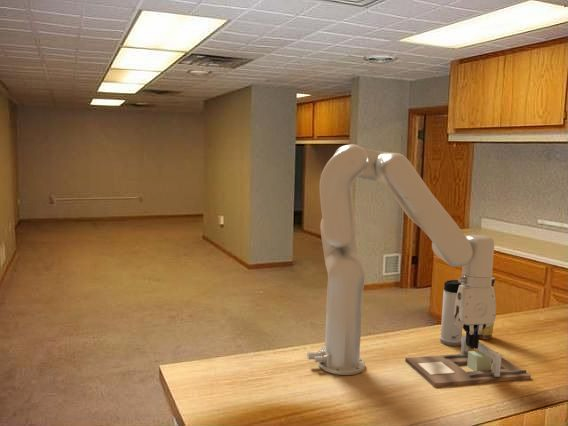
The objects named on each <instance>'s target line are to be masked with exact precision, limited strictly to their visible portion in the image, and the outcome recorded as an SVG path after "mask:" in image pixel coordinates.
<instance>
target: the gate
mask: <svg viewBox="0 0 568 426" xmlns="http://www.w3.org/2000/svg"><path fill="white" fill-rule="evenodd" d="M469 348H470V347H468V346H467V345H466V333H465V334H463V333H462V339H461V346H460V354H462V355H463V354H468V351H469ZM477 351H481V352H482V353H484V354H486V355H487V356H489V357H490V358H492V359H493V362H492V364H491V370H492V376H494V377H499V376H500V368H501V357H502V356H503V355H501V354H500V353H499V352H498V353H497V351H496V350H494V349H492V348H491V347H488V346H487V345H486V344H484V343H482V342H480V341H479V344H478V349H477Z"/></svg>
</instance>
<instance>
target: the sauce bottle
mask: <svg viewBox="0 0 568 426" xmlns="http://www.w3.org/2000/svg"><path fill="white" fill-rule="evenodd" d="M495 282H496V279H495V277H494V276H492V283H491V286H493V287H494V285H495ZM494 323H495V322H493V323H492V325H490V326H487V327H485V328H484V329H483V330H482V333H481V334H479V340H490V339H492V338H493V333H494Z"/></svg>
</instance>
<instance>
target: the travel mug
mask: <svg viewBox="0 0 568 426" xmlns="http://www.w3.org/2000/svg"><path fill="white" fill-rule="evenodd" d="M459 285H461V282H460V283H459V282H458V279H450V280H446V281H445V282H444V285H443V286H444V287H443V295H442V310H441V324H440V325H441V326H440V338H439V341H440V343H442V344H443V345H445V346H451V347H458V346H460V345H461V342H462V334H463V328H459V327H457V326H455V325H454V324H455V320H456V319H455V318H454V309H455V301H456V296H457V292H458V288H459Z"/></svg>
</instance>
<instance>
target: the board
mask: <svg viewBox="0 0 568 426" xmlns="http://www.w3.org/2000/svg"><path fill="white" fill-rule="evenodd" d="M496 352H497V351H496ZM497 353H498V354H499V352H497ZM404 361H405V363H407V364H408V365H409V366H410V368H412V369H413V370H414V371H416V373H418V374H419V375H420V376H421V377H422V378H423V379H425V380H426V381H427V383H429V384H430V385H432V387H433V388H440V387H452V386H462V385H475V384H485V383H489V384H490V383H499V382H510V381H511V382H512V381H522V380H531V378H532V376H531V374H529V373H527V369H521V368H520V367H519V366H518V365H517V366H516V365H515V364H513V363H511V361H509V360H507V359H505V358H504V357H502V356H501V368H500V376H499V377H494V376H492V369H491V370H483V371H473V370H472V371H471V370H470V371H466V370H464V369H463V368H462V367H460V366H462V365H464V366H465V365H466V366H467V361H468V354H463V355H462V354H461V353H455V354H443V355H429V356H428V355H427V356H415V357H412V356H411V357H405V360H404ZM492 362H493V359H492Z"/></svg>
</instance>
